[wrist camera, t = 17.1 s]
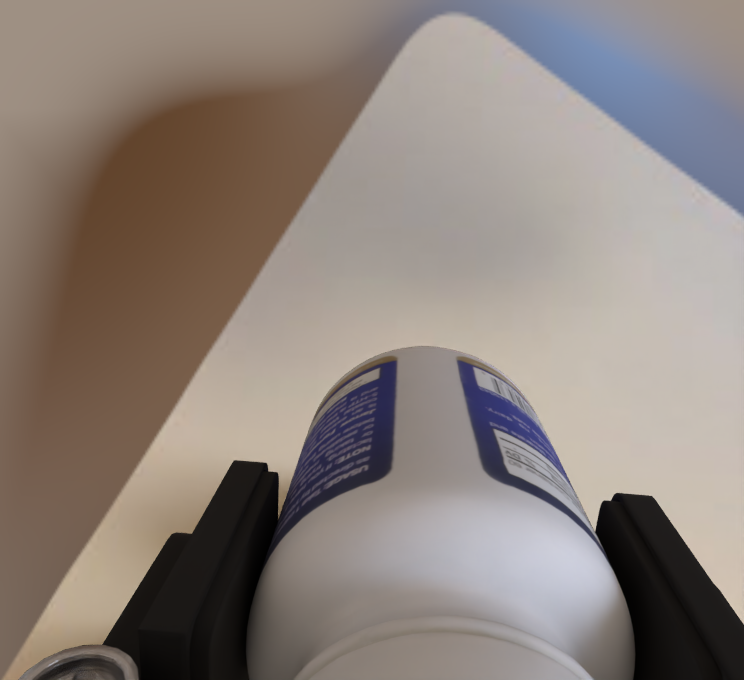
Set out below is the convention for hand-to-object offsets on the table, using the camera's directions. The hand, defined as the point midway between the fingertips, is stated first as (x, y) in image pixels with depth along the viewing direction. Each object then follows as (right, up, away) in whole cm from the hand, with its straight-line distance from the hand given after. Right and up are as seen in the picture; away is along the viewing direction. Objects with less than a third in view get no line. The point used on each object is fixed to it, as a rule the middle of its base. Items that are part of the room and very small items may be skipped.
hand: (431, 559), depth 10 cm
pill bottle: (0, +1, +4) cm, 4 cm away
